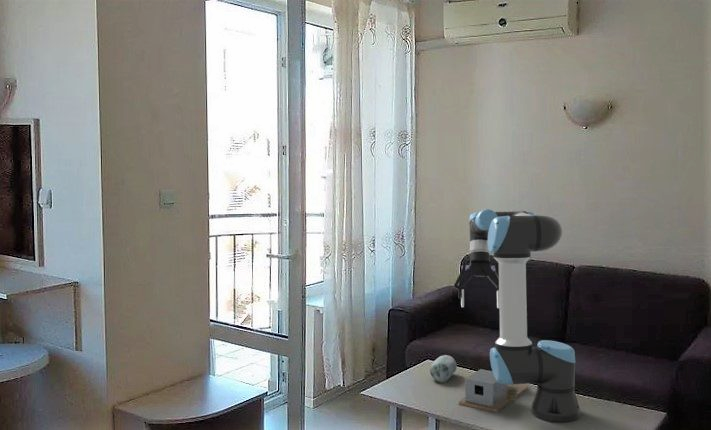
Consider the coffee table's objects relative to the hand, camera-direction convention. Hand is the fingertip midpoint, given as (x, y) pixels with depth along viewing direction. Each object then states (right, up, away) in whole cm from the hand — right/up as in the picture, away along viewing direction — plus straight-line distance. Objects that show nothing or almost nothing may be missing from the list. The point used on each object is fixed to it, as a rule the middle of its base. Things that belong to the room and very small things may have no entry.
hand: (480, 307), depth 265 cm
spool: (-14, -27, -2) cm, 30 cm away
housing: (+1, -28, -21) cm, 35 cm away
